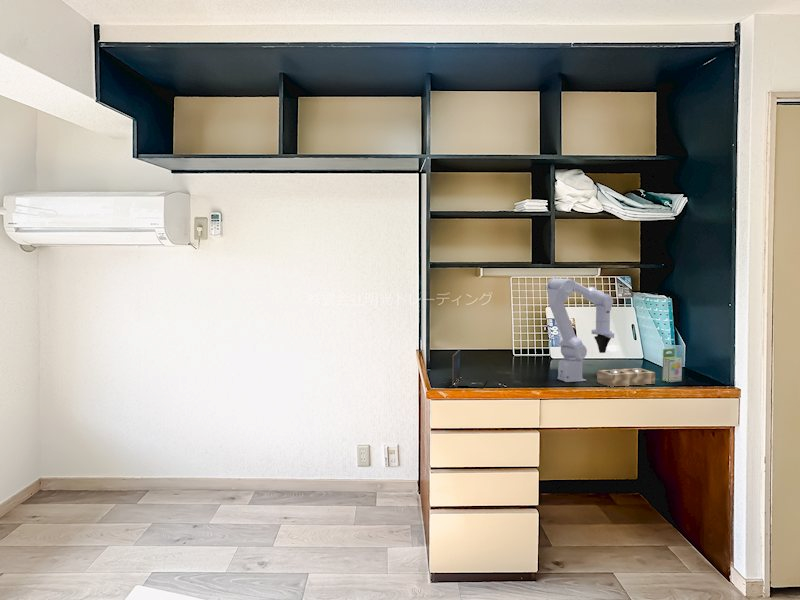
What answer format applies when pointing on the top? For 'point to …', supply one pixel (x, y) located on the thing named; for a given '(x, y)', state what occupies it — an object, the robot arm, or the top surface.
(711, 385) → the top surface
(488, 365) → the top surface
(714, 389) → the top surface
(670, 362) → the ink box
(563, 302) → the robot arm
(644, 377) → the maple peg block
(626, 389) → the top surface
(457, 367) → the laptop
